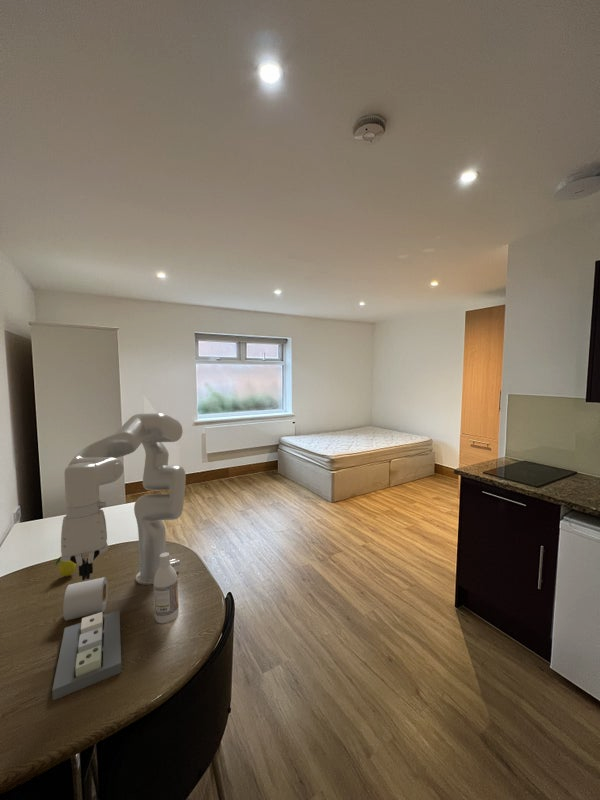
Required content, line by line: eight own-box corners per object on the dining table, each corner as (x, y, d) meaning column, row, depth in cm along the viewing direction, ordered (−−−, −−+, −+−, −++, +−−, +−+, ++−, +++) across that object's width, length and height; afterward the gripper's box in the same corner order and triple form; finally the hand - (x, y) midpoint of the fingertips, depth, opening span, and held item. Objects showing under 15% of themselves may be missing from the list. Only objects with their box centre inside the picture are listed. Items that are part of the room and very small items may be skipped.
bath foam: (179, 619, 100) (177, 556, 99) (155, 627, 97) (152, 562, 96) (177, 606, 106) (175, 547, 106) (154, 613, 103) (152, 552, 103)
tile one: (103, 621, 98) (102, 611, 98) (102, 632, 94) (102, 621, 94) (82, 628, 96) (82, 617, 95) (81, 639, 91) (80, 628, 91)
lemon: (55, 583, 121) (54, 557, 121) (58, 575, 126) (57, 550, 126) (77, 577, 124) (76, 552, 124) (79, 570, 130) (77, 546, 129)
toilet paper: (64, 628, 98) (62, 596, 98) (73, 607, 107) (72, 578, 107) (102, 618, 102) (100, 587, 101) (108, 599, 111) (106, 571, 111)
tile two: (102, 637, 92) (101, 626, 92) (101, 649, 87) (101, 638, 87) (80, 645, 89) (79, 633, 89) (78, 658, 85) (78, 646, 84)
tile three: (101, 655, 85) (101, 644, 85) (101, 670, 81) (100, 658, 81) (77, 664, 83) (77, 652, 82) (76, 680, 78) (75, 667, 78)
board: (119, 617, 102) (119, 610, 102) (121, 672, 82) (121, 662, 82) (65, 636, 95) (64, 627, 94) (52, 700, 75) (52, 690, 75)
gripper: (115, 500, 93) (117, 562, 94) (50, 511, 86) (53, 579, 86) (115, 508, 87) (118, 575, 87) (45, 520, 79) (49, 593, 80)
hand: (86, 576), depth 87 cm, fingers closed
